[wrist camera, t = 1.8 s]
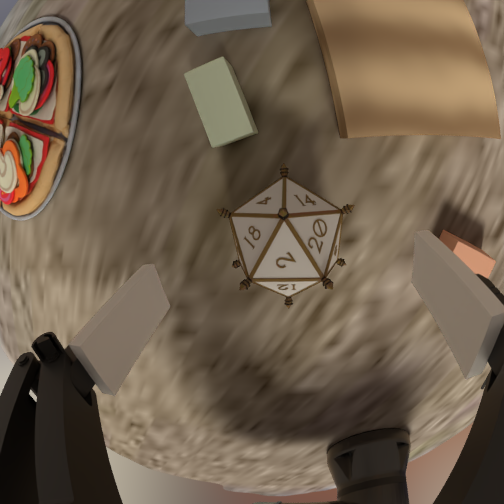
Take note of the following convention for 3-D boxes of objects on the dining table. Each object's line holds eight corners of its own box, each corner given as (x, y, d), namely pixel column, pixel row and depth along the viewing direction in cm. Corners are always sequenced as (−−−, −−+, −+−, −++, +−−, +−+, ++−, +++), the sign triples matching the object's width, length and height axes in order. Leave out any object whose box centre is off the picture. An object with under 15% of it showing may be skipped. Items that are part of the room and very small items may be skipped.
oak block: (481, 136, 15) (500, 139, 13) (340, 138, 18) (348, 138, 16) (444, 0, 10) (458, -10, 8) (300, -13, 13) (301, -31, 10)
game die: (279, 190, 24) (265, 117, 15) (359, 241, 22) (396, 188, 12) (218, 269, 24) (166, 236, 14) (299, 329, 21) (300, 339, 12)
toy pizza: (9, 27, 14) (-10, 25, 11) (126, 13, 16) (101, 0, 12) (-24, 184, 26) (-41, 191, 22) (63, 251, 27) (40, 266, 23)
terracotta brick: (480, 248, 20) (496, 261, 17) (467, 274, 21) (481, 289, 18) (442, 228, 20) (458, 241, 17) (428, 257, 21) (442, 273, 18)
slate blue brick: (269, 0, 14) (265, -17, 12) (272, 27, 15) (268, 12, 13) (197, 10, 15) (185, -4, 12) (198, 37, 16) (184, 25, 14)
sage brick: (258, 132, 19) (253, 132, 17) (222, 146, 20) (212, 147, 17) (232, 66, 17) (223, 56, 15) (197, 81, 18) (183, 73, 15)
